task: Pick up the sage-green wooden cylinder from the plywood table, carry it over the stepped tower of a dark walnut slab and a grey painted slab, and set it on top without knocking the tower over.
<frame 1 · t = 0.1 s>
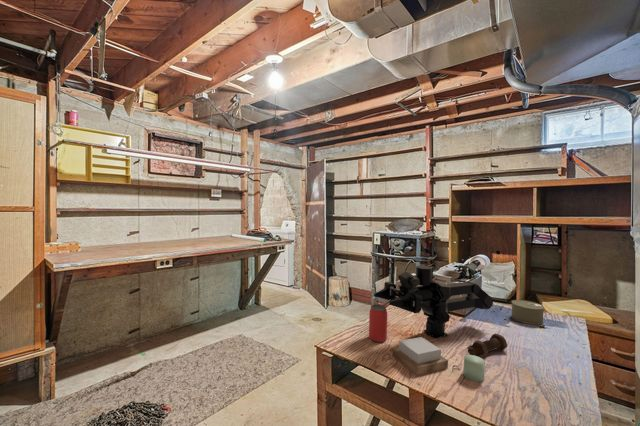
hand: (382, 298, 104), 17 cm above the table, tool horizontal, fingers open, 9 cm apart
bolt: (485, 353, 101), on the table
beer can: (377, 339, 109), on the table
can: (526, 319, 132), on the table
walnut base slab: (419, 363, 94), on the table, touching grey top slab
grey top slab: (419, 354, 94), point 2 cm above the table, touching walnut base slab
green cylinder: (473, 376, 87), on the table
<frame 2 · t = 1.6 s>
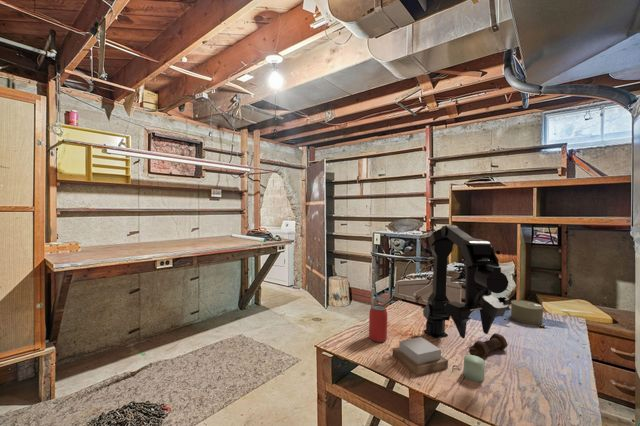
hand: (474, 335, 86), 12 cm above the table, tool pointing down, fingers open, 9 cm apart
walnut base slab: (419, 363, 94), on the table
grey top slab: (419, 354, 94), point 2 cm above the table
everything else where it was.
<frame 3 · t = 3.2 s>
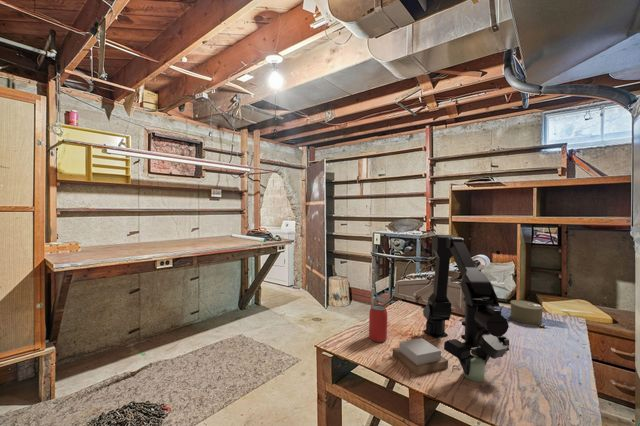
hand: (473, 372, 87), 1 cm above the table, tool pointing down, fingers closed on green cylinder, 5 cm apart
walnut base slab: (419, 363, 94), on the table, touching grey top slab
grey top slab: (419, 355, 94), point 2 cm above the table, touching walnut base slab
green cylinder: (473, 376, 87), on the table, touching gripper
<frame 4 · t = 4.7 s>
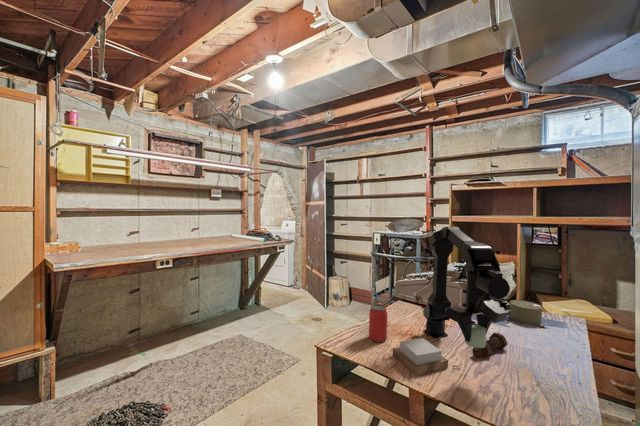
hand: (474, 339, 86), 11 cm above the table, tool pointing down, fingers closed on green cylinder, 5 cm apart
green cylinder: (474, 343, 86), point 10 cm above the table, touching gripper
everything else where it was.
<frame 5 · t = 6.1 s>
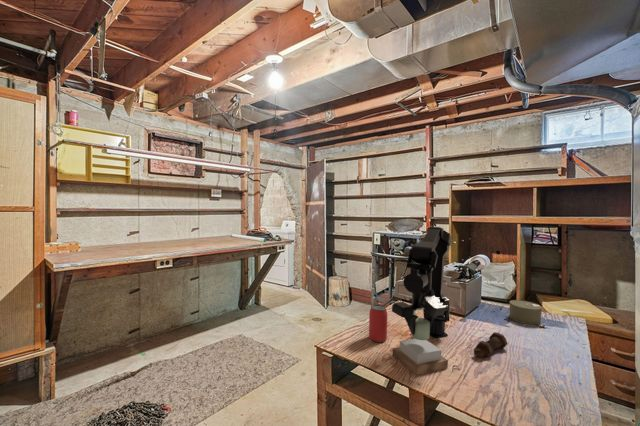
hand: (420, 332, 94), 9 cm above the table, tool pointing down, fingers closed on green cylinder, 5 cm apart
walnut base slab: (418, 363, 94), on the table
grey top slab: (419, 354, 94), point 2 cm above the table
green cylinder: (420, 336, 94), point 8 cm above the table, touching gripper
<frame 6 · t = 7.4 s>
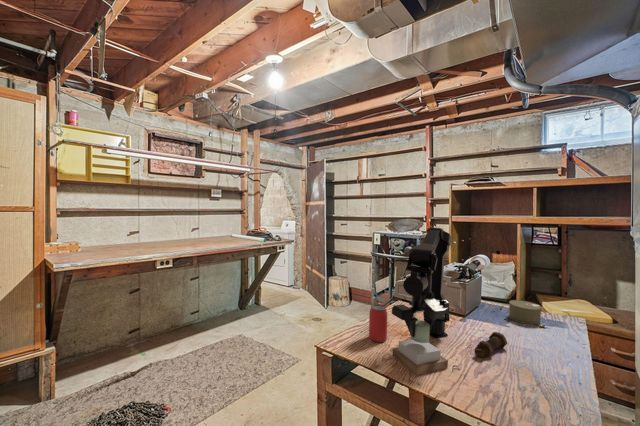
hand: (420, 335, 94), 8 cm above the table, tool pointing down, fingers closed on green cylinder, 5 cm apart
green cylinder: (420, 338, 94), point 7 cm above the table, touching gripper
when the fingers open (8 cm above the table, at t = 7.4 s): green cylinder drops 2 cm, resting on grey top slab.
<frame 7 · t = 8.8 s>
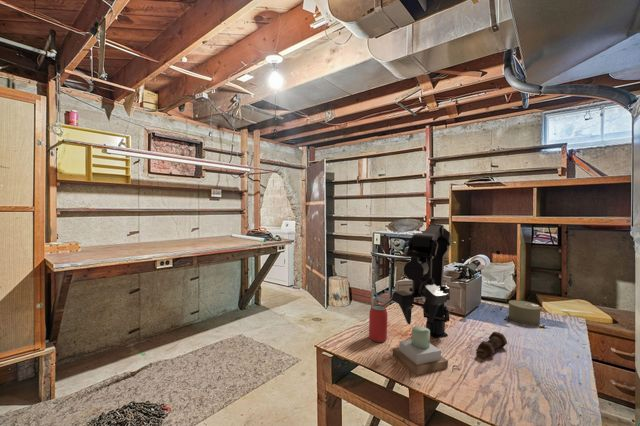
hand: (420, 322, 94), 13 cm above the table, tool pointing down, fingers open, 9 cm apart
walnut base slab: (419, 363, 94), on the table, touching grey top slab
grey top slab: (419, 354, 94), point 2 cm above the table, touching green cylinder, walnut base slab
green cylinder: (420, 345, 94), point 5 cm above the table, touching grey top slab
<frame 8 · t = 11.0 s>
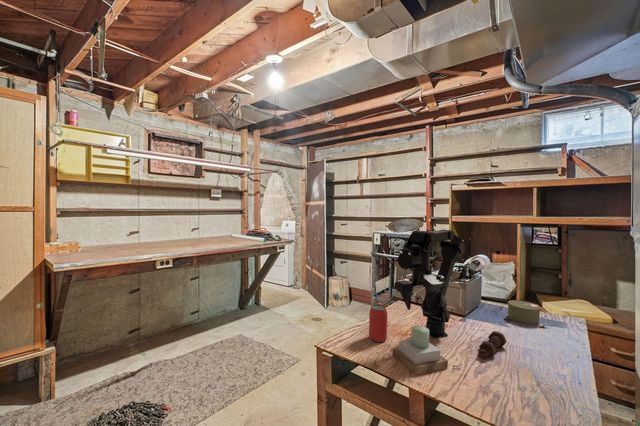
hand: (419, 308, 106), 13 cm above the table, tool pointing down, fingers open, 9 cm apart
grey top slab: (418, 354, 94), point 2 cm above the table, touching walnut base slab
green cylinder: (419, 344, 94), point 5 cm above the table
at the end: green cylinder 0.4 cm off-centre on the walnut base slab, point 6.0 cm above the walnut base slab's base; grey top slab 0.2 cm off-centre on the walnut base slab, point 3.0 cm above the walnut base slab's base; green cylinder tilted 0° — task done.
